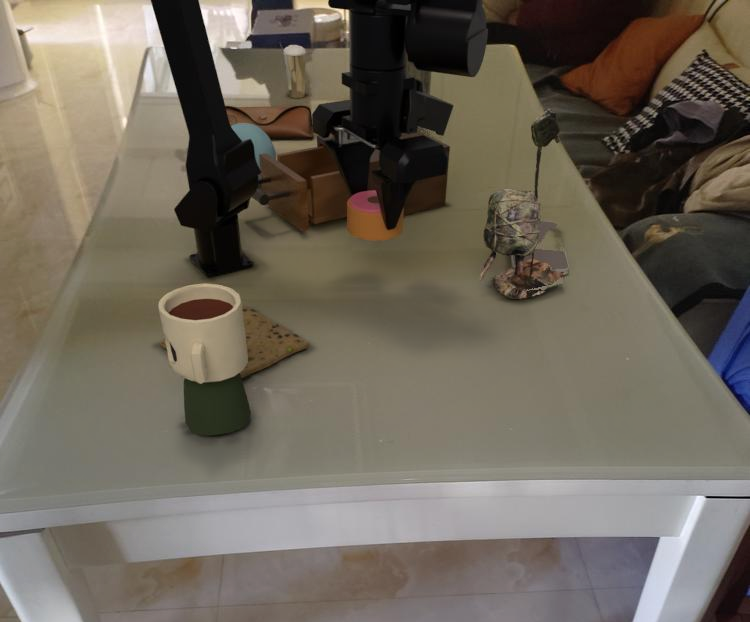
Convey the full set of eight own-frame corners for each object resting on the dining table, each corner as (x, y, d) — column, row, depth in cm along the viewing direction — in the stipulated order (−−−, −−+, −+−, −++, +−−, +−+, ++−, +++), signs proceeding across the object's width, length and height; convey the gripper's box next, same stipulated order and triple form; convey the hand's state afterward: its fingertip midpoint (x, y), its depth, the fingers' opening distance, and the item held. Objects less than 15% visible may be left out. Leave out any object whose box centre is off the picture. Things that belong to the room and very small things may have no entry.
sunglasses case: (214, 139, 133) (210, 98, 132) (217, 149, 140) (214, 110, 139) (315, 137, 135) (312, 97, 134) (314, 147, 142) (311, 109, 140)
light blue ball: (197, 119, 117) (273, 115, 116) (209, 177, 123) (281, 174, 122) (187, 134, 112) (266, 130, 111) (200, 194, 118) (275, 191, 117)
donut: (413, 233, 86) (415, 203, 83) (365, 245, 83) (365, 214, 81) (383, 213, 89) (384, 184, 87) (337, 224, 87) (336, 194, 85)
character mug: (190, 391, 77) (168, 273, 69) (259, 390, 78) (246, 272, 69) (174, 458, 69) (147, 334, 61) (251, 457, 70) (235, 333, 61)
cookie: (158, 345, 84) (156, 337, 83) (245, 308, 90) (244, 301, 89) (222, 389, 77) (220, 382, 77) (310, 347, 84) (310, 339, 83)
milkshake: (279, 94, 156) (275, 39, 150) (303, 91, 158) (300, 37, 151) (286, 100, 153) (283, 44, 147) (311, 97, 155) (308, 42, 148)
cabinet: (363, 225, 109) (363, 163, 103) (318, 194, 117) (316, 135, 111) (445, 205, 114) (450, 146, 108) (396, 177, 123) (398, 120, 117)
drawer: (270, 238, 103) (266, 188, 98) (233, 207, 110) (228, 159, 106) (383, 212, 110) (384, 164, 105) (341, 185, 117) (340, 139, 113)
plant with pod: (469, 274, 98) (477, 109, 84) (554, 266, 98) (576, 101, 84) (482, 306, 92) (493, 134, 78) (572, 297, 93) (599, 125, 79)
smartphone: (513, 267, 97) (505, 219, 108) (512, 274, 98) (505, 225, 109) (570, 270, 97) (557, 221, 108) (569, 276, 98) (556, 227, 108)
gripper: (500, 76, 72) (481, 234, 83) (395, 36, 84) (391, 179, 94) (403, 91, 68) (396, 255, 78) (307, 47, 79) (312, 195, 90)
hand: (375, 218), depth 85 cm, fingers closed on donut, 6 cm apart
